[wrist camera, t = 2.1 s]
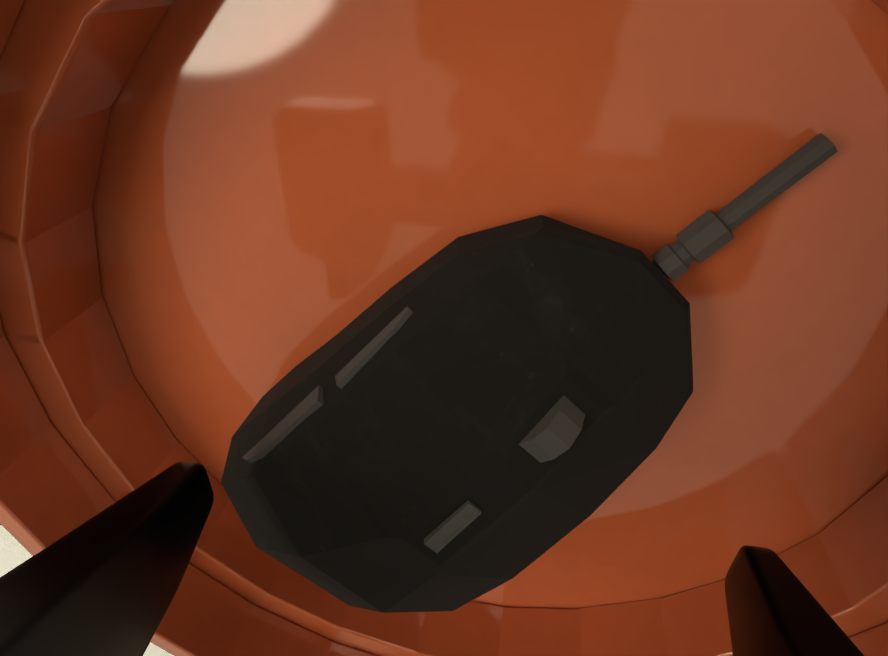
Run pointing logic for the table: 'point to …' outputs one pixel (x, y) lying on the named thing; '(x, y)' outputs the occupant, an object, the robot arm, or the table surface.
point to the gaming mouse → (478, 408)
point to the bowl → (414, 242)
